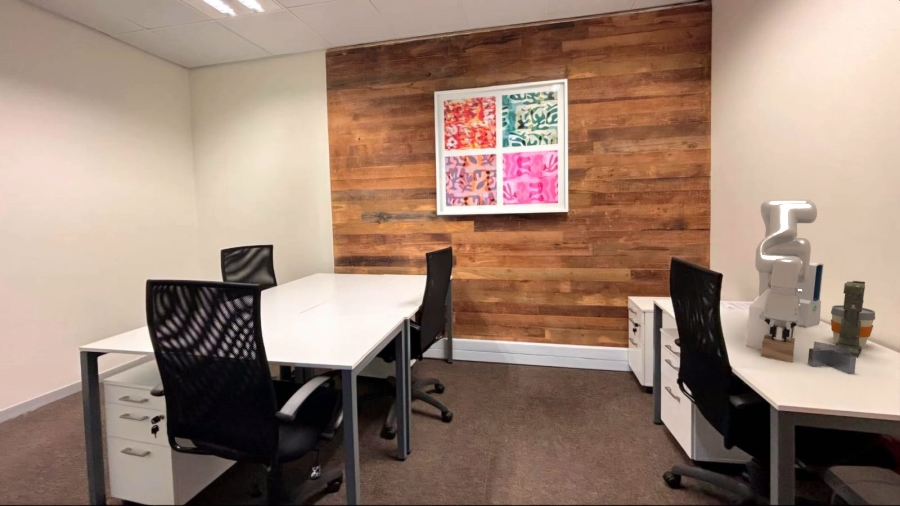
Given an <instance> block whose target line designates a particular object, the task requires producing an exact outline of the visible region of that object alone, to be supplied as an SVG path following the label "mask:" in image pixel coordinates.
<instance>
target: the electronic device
mask: <svg viewBox="0 0 900 506" xmlns="http://www.w3.org/2000/svg"><path fill="white" fill-rule="evenodd" d="M823 273H824V264H823V263H819V262H811V261H810V264H809V274H808V279H807V280H806V281H805V282H803V283H797V288H798V289H800V290H802V293H797V294H796V295H799V300H800V312H799V315H800V317H801V318H802V320H803V322H804V324H802V325H798V327H802V328H811V327H816V326H819V324H820V323H821V307H822V305H821V304H822V301H821V293H822V283H823V282H822V281H823Z"/></svg>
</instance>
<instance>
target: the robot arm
mask: <svg viewBox="0 0 900 506" xmlns="http://www.w3.org/2000/svg"><path fill="white" fill-rule="evenodd" d="M760 205H761V206H760V215H761V217H762V220H763V222H764V226H765V233H764V238H763V239H762V240H761V241H760V242H759V243H758V245H757V247H756V250H755V261H754V263H755V264H754V265H755V268H756V269H755V270H757V272H758V280H759V282H758V283H759V286H758V296H759V295H760V294H761V293H762V292H763V291H764V290H765V289H766V288H767V287H768V282H769V281H770V280H771V290H770V292H768V294H767V297H766V302H765V308H764V311H763V312H762V313H761V314H760V316H759V318H760V319H762V320H764V321H765V322H766V323H767V324H768V325H769V326H770V334H772V337H774V332H775V325H774V321H775V320H782V321H786V328H785V331H784V339H786V338H787V337H789V332H790V329H791V328H793V327H794V328H795V327H797V326H798V325H802V324H804V322H803V320H802V318H801V317H800V315H799V312H800V300H799V295H796V294H797V293H802V290H800V289H798V288H797V283H803V282H805V281H806V280H807V279H808V274H809V264H810V262H811V261H810V260H811V252H812V249H811V242H810V240H808V239H807V238H805V237H798V224H813V223H814V222H815V221H816V220H817V217H818V209H817V205H816V204H815V202H814V201H812V200H811V199H771V200H766V201H764V202H762V203H761V204H760ZM768 318H769V319H771V320H769V319H768ZM791 322H793V323H791ZM798 327H799V326H798Z"/></svg>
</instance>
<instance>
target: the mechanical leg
mask: <svg viewBox="0 0 900 506" xmlns="http://www.w3.org/2000/svg"><path fill="white" fill-rule="evenodd" d="M865 289H866V282H865V281H861V280H853V281H846V282H845V283H844V287H843V294H844V299H843V309H844V318H842V319H841V326H840V335H839V339H838V342H836V344H835V345H839V346H845V347H848V348H849V352H850V355H853V356H856V358H858V357H859V356H860V354H861V353H862V349H861V348H862V347H861V346H859V335H860V329H861V321H859V312H862V308H864V307H863V306H864V295H865Z"/></svg>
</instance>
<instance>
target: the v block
mask: <svg viewBox="0 0 900 506" xmlns="http://www.w3.org/2000/svg"><path fill="white" fill-rule="evenodd" d="M856 362H857V357H856V356H853V355H850V352H849V348H848V347H845V346H839V345H836V344H831V343H825V342H820V341H814V342H813V347H811V348H808V356H807V365H808V364H809V366H810V365H811V367H813V366H815V367H832V368H834V369H837V370H838V371H841V372H844V373H846V374H855V372H856V364H857V363H856Z"/></svg>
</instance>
